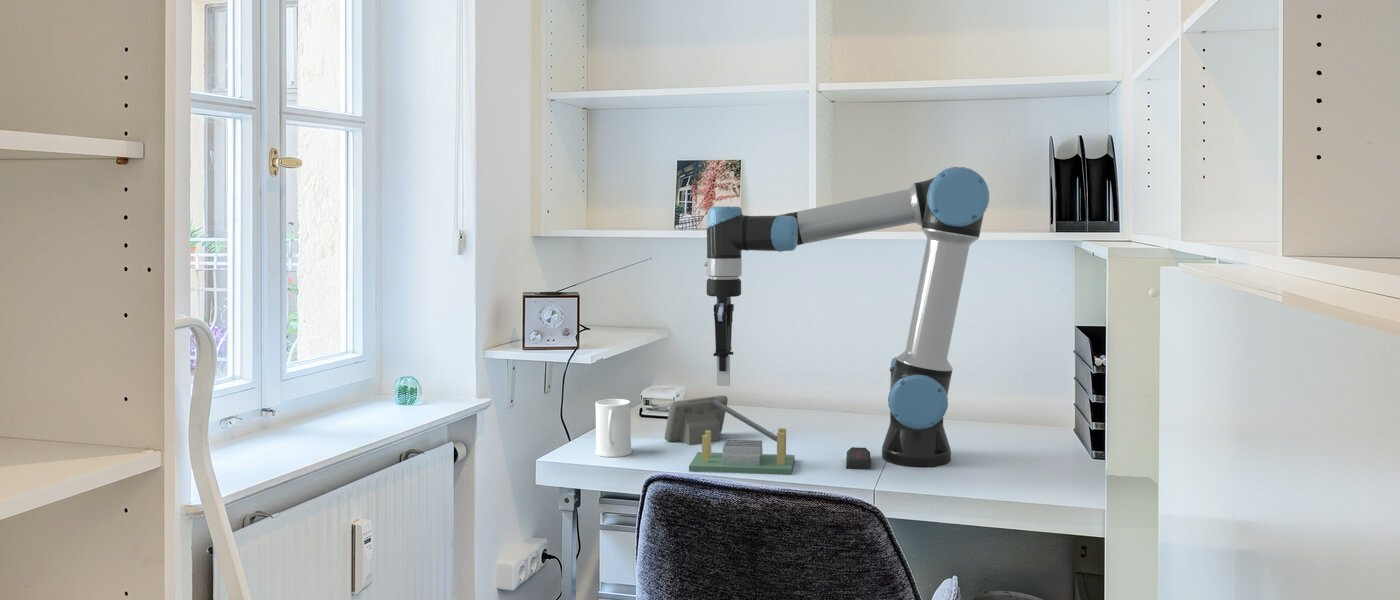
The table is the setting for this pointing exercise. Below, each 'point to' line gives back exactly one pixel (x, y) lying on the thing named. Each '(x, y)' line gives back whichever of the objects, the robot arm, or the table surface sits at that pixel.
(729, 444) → the heatsink
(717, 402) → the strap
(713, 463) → the board
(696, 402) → the digital clock
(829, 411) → the table surface
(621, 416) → the mug
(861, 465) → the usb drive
